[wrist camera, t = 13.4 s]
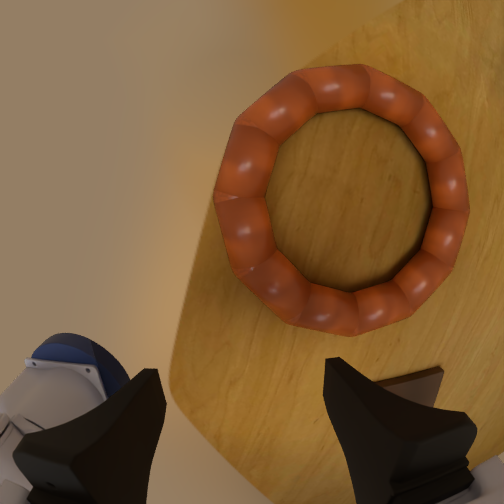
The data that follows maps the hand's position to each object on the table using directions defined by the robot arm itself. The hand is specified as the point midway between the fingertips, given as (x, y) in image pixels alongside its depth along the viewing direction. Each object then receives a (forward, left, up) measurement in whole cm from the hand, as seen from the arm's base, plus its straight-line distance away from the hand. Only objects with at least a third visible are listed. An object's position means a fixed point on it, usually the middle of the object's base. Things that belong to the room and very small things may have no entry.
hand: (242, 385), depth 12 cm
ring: (+8, +7, -8) cm, 13 cm away
